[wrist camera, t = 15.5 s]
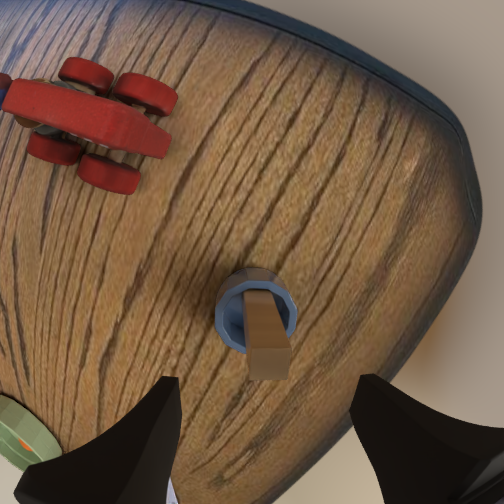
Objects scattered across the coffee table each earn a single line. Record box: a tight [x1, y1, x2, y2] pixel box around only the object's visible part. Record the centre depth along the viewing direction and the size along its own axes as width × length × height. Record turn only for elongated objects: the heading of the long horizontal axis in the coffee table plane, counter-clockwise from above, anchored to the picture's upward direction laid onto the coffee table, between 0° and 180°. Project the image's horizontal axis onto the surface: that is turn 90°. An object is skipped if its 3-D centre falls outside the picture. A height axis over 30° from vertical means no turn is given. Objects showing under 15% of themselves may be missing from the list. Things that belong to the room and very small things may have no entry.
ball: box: [18, 437, 32, 451], centre depth 20 cm, size 3×3×3 cm
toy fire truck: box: [0, 57, 178, 195], centre depth 12 cm, size 7×12×10 cm, turn 64°
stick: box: [242, 288, 292, 380], centre depth 15 cm, size 2×2×9 cm
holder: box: [215, 267, 297, 354], centre depth 19 cm, size 5×5×3 cm
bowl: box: [0, 394, 62, 472], centre depth 20 cm, size 12×12×4 cm
